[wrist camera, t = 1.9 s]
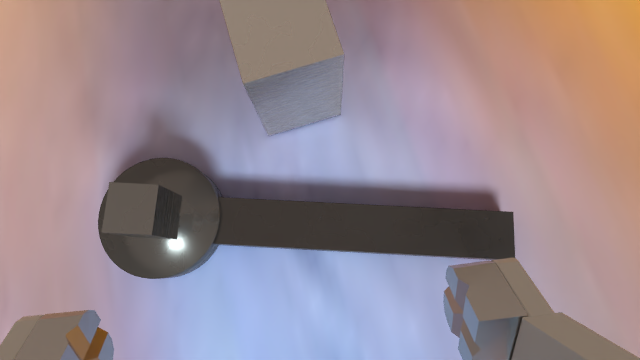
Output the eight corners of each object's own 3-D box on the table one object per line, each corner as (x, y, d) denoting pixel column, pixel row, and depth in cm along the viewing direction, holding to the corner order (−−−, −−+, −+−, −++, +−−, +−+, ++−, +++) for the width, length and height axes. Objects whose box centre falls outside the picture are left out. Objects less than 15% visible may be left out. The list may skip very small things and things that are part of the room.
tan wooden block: (318, 49, 29) (314, -33, 21) (340, 114, 28) (344, 54, 20) (249, 69, 29) (217, -6, 21) (268, 136, 28) (243, 83, 20)
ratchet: (105, 274, 26) (48, 276, 21) (122, 162, 27) (74, 138, 22) (506, 297, 25) (552, 305, 20) (502, 180, 26) (543, 159, 21)
